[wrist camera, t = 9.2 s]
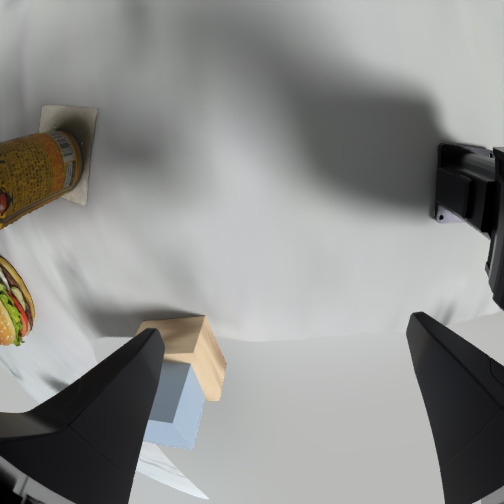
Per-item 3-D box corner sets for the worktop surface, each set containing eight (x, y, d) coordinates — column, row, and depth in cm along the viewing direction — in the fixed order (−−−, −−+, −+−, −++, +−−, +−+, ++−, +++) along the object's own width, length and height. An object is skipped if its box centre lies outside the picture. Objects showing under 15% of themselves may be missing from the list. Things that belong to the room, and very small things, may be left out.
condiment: (36, 189, 20) (-54, 239, 10) (44, 104, 17) (-62, 124, 6) (87, 205, 21) (-12, 273, 10) (100, 108, 17) (-24, 124, 6)
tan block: (205, 314, 25) (193, 353, 21) (226, 363, 28) (219, 400, 24) (143, 319, 26) (124, 353, 22) (169, 365, 29) (157, 398, 25)
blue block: (190, 363, 21) (172, 423, 16) (205, 396, 23) (193, 449, 18) (139, 360, 22) (115, 412, 17) (158, 392, 24) (141, 440, 19)
